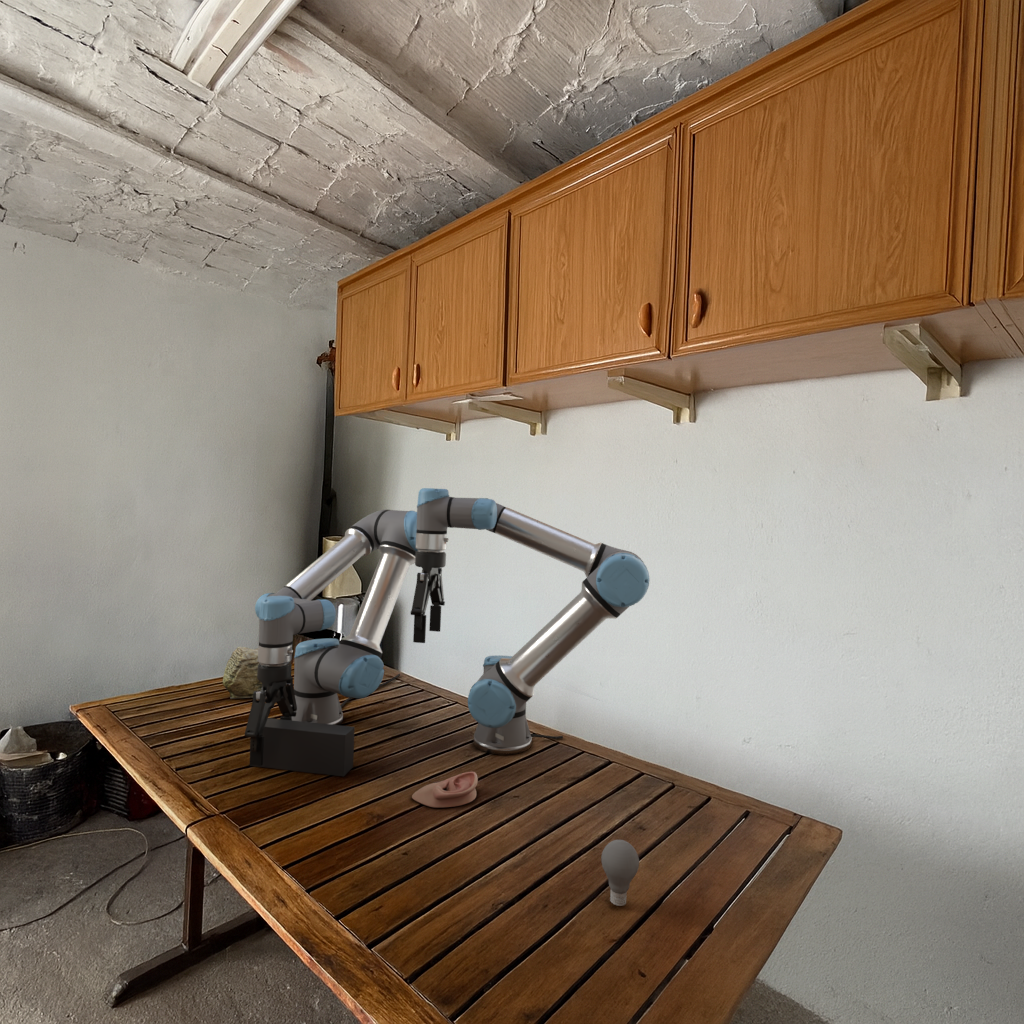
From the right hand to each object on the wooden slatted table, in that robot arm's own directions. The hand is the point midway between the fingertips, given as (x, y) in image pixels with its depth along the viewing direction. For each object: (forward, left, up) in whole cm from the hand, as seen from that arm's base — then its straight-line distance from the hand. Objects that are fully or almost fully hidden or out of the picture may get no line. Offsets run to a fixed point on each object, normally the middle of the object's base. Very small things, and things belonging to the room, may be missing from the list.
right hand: (427, 636), depth 156 cm
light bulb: (-10, +67, -30) cm, 74 cm away
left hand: (+34, -9, -28) cm, 45 cm away
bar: (+28, -5, -30) cm, 41 cm away
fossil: (+33, -63, -30) cm, 77 cm away
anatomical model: (+3, +22, -30) cm, 37 cm away
